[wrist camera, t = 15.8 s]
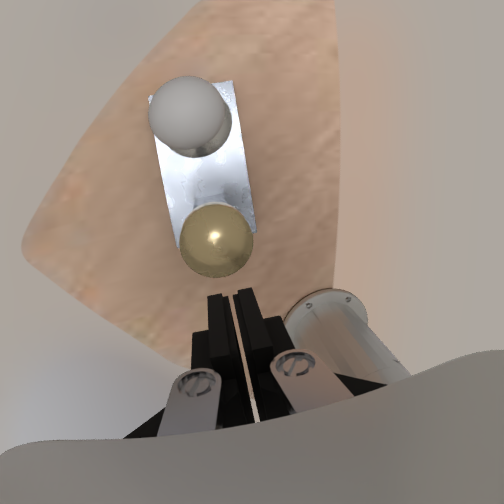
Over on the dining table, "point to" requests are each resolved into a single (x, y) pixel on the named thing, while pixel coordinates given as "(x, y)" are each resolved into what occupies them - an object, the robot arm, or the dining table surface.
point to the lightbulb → (186, 112)
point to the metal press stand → (208, 170)
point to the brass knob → (215, 240)
